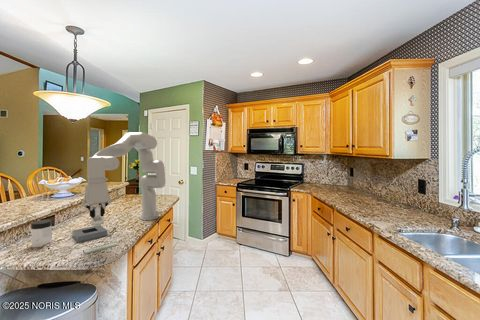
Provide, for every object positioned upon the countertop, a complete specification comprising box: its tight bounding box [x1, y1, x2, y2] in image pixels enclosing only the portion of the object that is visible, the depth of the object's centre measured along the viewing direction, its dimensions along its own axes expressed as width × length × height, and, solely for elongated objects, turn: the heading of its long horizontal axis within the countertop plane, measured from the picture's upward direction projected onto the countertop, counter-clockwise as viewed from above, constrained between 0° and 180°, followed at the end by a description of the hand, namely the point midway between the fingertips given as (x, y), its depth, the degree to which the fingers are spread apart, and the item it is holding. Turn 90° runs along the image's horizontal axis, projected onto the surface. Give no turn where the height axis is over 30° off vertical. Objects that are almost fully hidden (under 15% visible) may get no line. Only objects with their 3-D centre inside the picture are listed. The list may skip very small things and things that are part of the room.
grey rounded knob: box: [90, 205, 105, 227], centre depth 117 cm, size 6×6×9 cm
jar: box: [30, 219, 53, 248], centre depth 121 cm, size 9×8×12 cm
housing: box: [71, 224, 108, 244], centre depth 130 cm, size 14×14×4 cm
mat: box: [82, 242, 118, 255], centre depth 118 cm, size 14×12×1 cm
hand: (97, 216), depth 117 cm, fingers closed on grey rounded knob, 3 cm apart
